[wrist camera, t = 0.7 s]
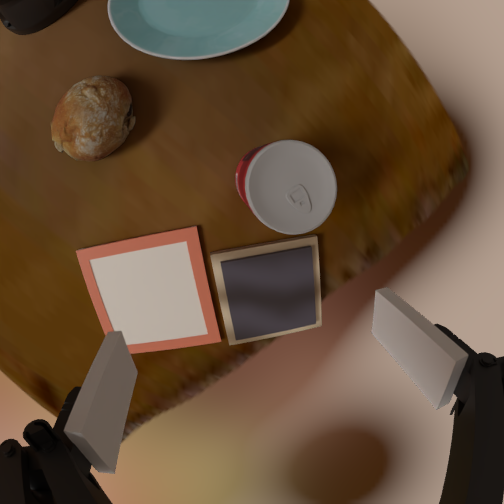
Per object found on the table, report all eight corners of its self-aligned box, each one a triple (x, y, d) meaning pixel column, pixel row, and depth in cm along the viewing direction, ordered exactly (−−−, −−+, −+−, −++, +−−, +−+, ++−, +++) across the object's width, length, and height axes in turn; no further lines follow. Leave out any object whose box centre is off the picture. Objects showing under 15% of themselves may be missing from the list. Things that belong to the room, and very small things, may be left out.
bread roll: (131, 156, 33) (144, 149, 27) (55, 171, 28) (48, 168, 22) (127, 84, 30) (140, 62, 24) (51, 95, 25) (46, 74, 19)
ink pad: (210, 252, 35) (210, 256, 33) (314, 234, 36) (318, 237, 35) (228, 341, 39) (229, 347, 38) (319, 322, 40) (323, 328, 39)
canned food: (273, 225, 35) (300, 253, 25) (220, 184, 33) (224, 194, 22) (313, 176, 34) (355, 184, 23) (262, 132, 32) (286, 119, 21)
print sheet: (77, 249, 32) (76, 250, 32) (196, 225, 34) (196, 226, 33) (115, 353, 37) (114, 355, 37) (221, 339, 39) (221, 341, 38)
